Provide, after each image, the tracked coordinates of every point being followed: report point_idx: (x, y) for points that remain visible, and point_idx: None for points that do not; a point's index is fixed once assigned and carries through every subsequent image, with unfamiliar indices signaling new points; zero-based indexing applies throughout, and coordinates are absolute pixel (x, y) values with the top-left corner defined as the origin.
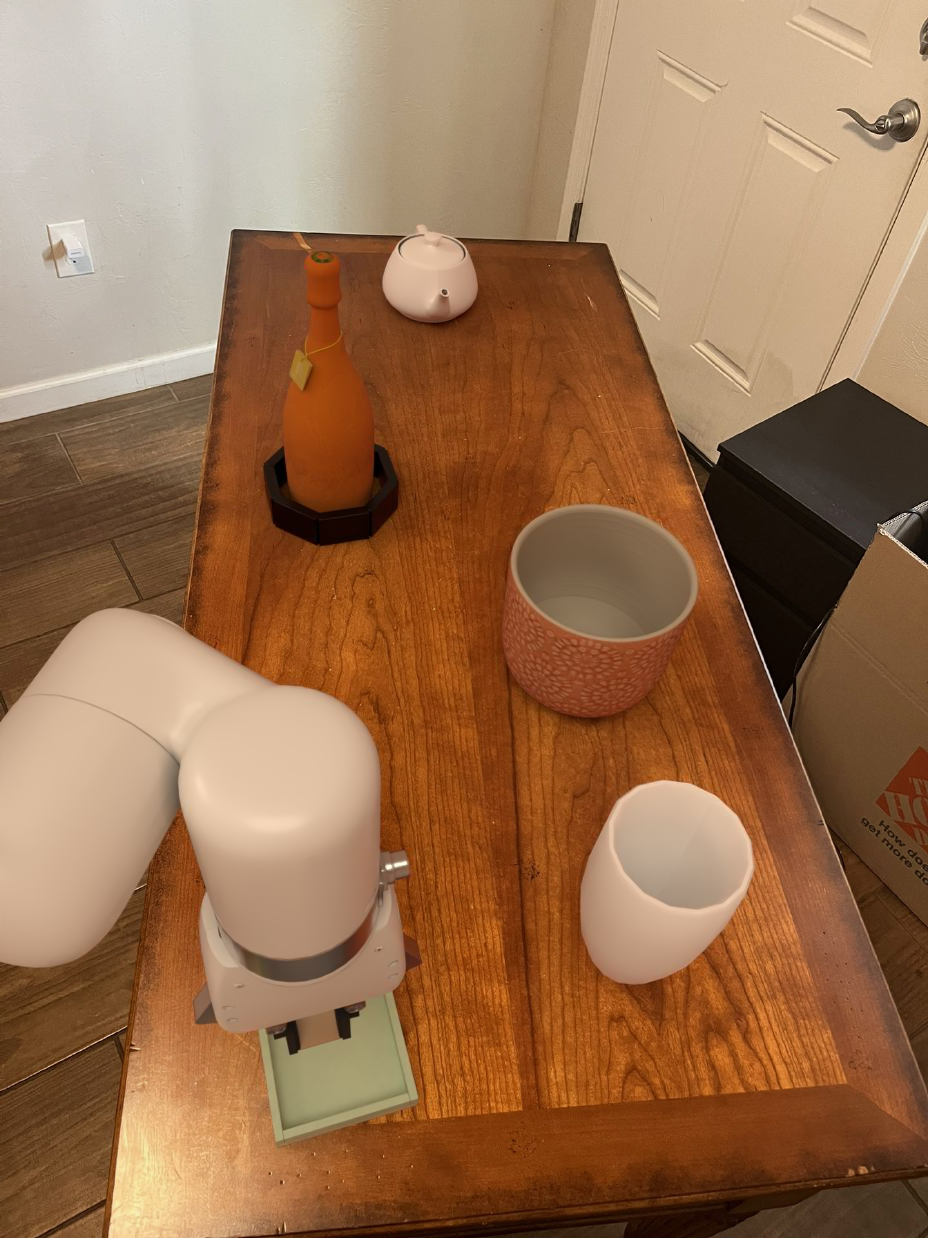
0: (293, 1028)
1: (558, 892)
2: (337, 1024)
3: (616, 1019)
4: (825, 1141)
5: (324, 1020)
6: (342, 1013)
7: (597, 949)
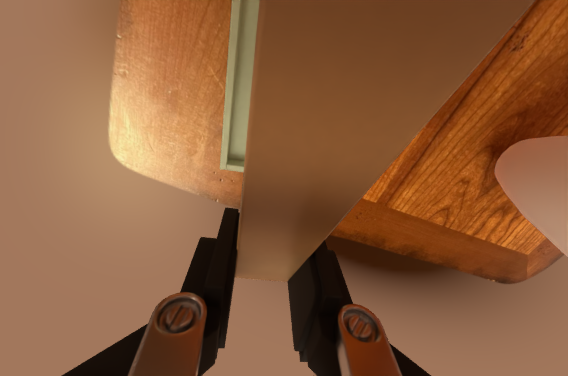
0: (218, 347)
1: (517, 75)
2: (291, 304)
3: (464, 182)
4: (492, 268)
5: (277, 273)
6: (306, 355)
7: (555, 216)
